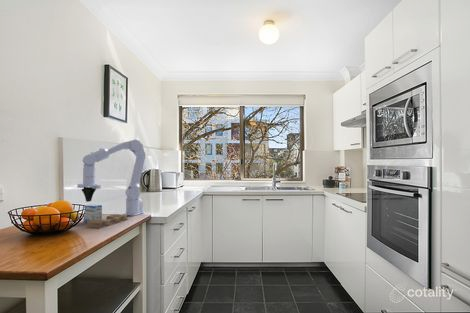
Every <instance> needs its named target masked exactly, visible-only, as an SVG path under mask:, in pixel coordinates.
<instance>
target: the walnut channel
mask: <svg viewBox="0 0 470 313" xmlns="http://www.w3.org/2000/svg"><path fill="white" fill-rule="evenodd" d="M127 220H128V215H123V214H117V213H116V214H115V213H113V214H110V215H107V216H106V219H103V218H102V219H95V220H91V221H87V222H86V227H89V228H98V229H102V228H106V227H109V226H111V225H115V224H118V222H119V223H121V221H122V222H124V221H127Z"/></svg>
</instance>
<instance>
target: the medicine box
mask: <svg viewBox="0 0 470 313" xmlns="http://www.w3.org/2000/svg"><path fill="white" fill-rule="evenodd" d="M84 206H86V207H87V208H86V211H85V215H84V214H83V223H87V221H91V220H95V219H102V220H103V205H102V204H91V203H90V204H84V205H83V209H84V208H85V207H84Z"/></svg>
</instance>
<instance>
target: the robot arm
mask: <svg viewBox="0 0 470 313" xmlns="http://www.w3.org/2000/svg"><path fill="white" fill-rule="evenodd" d="M122 150H129V151H131V152H132V153H133V154H134V156H135V157H136V158H135V162H134V165H133V170H132V173H131V174H132V175H131V178H130V183H129V184H128V187H127V188H126V190H125V196H126V198H125V212H124V213H122V215H127V216H132V217H133V216H137V215H140V214H144V211H143V210H144V208H143V200H142V199H141V198H140V194H141V192H140V189H141V188H140V182H141V178H142V173H143V170H144V164H145V160H146V155H147V154H146V152H145V149H144V145H143V143H142V142H141V141H140V140H138V139H132V140H129V141H125V142H121V143H119V144H117V145H115V146H112V147H110V148H108V149H107V148H99V149H98V150H96V151H93V152H90V154H89V153H88V154H86V155H85V156H84V157H83V158H82V163H83V169H82V170H83V171H82V183H77V189H79V188H82V189H81V192H82V193H83V196H84V198H85V202H87V203H88V202H91V201H92V200H93V196H94V194H95V192H96V191H97V190H100V189H101V184H96V180H95V179H96V167H95V164H96V163H99V162H102V161H103V160H106V159H108V158H109V157H110V155H112V154H114V153H117V152H120V151H122Z"/></svg>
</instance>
